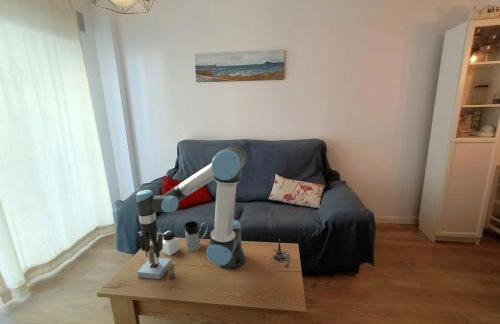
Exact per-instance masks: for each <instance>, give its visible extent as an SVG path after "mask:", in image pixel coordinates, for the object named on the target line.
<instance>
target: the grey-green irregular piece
mask: <svg viewBox="0 0 500 324" xmlns="http://www.w3.org/2000/svg"><path fill="white" fill-rule="evenodd" d="M272 251H273V252H276V253H275V255H273V257H272V259H273V260H275V261H276V262H277V263H281V262H283V261H286V262H287V263H286V264H284V265H283V266H284V269H289V267H290V257H291V255H290V253H288V252H287V251H282V249H281V238H279V239H278V248H277V249H273V250H272Z"/></svg>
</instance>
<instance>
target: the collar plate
mask: <svg viewBox="0 0 500 324" xmlns="http://www.w3.org/2000/svg"><path fill="white" fill-rule="evenodd" d="M168 265H173V264H172V259H171V258H167V257H166V258H165V257H159V262H158V266H157V268H152V266H151V263H150V264H149V262H148V260H147V261H146V262H145V263H143V265H142V266H141V267H140V269H138V270H137V271H136V272H137V277H138V278H145V279H153V280H154V279H155V280H161V279H162V277H163V276H164V275H165V273H166V272H167V266H168Z"/></svg>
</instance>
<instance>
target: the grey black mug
mask: <svg viewBox="0 0 500 324" xmlns="http://www.w3.org/2000/svg"><path fill="white" fill-rule="evenodd" d="M204 224H205V225H206V231H205V232H204V234H203V235H202V236H201V237H200V233H199V232H200V231H202V226H203V225H204ZM208 229H209V226H208V224H207V223H206V222H202V223H201V225H200V229H199V224H198V222H197V221H193V220H192V221H188V222H185V223H184V234H185V245H186V247H185V250H186V251H188V252H195V251H198V250H200V248H201V246H202V244H201V241H202V239H203V238H204V237H205V236H206V235H207V233H208Z"/></svg>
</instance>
